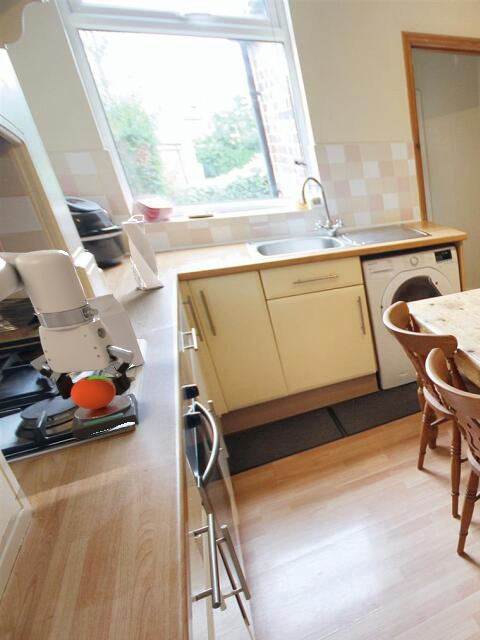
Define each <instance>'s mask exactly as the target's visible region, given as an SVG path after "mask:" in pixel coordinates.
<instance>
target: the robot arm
mask: <svg viewBox="0 0 480 640" xmlns="http://www.w3.org/2000/svg"><path fill="white" fill-rule="evenodd" d="M22 290H26V293H27V296H28V298H29V300H30V302H31V305H32V307H33V309H34V312H35V314H36V317H37V319H38V321H39V324H40V325H39V326H38V331H39V332H38V333H39V339H40V345H41V348H42V350H43V354H42V355H40V356H38V357H37V358H35V359H33V360H31V361H30V364H29V365H30V366H31V367H33V368H34V369H35V370H36V371H38V373H39V374H40V375H41V376H43V377H45V378H48V379H49V381H50V382H51V383H55V386H56V388H57V390H58V393H59V394H60V396H61V398H62V400H64V401H65V400H68V399H71V389H72V387H73V385H74V384H75V383H74V381H73V378H72V377H71V376H70V375H69V374H71V373H84V372H97V371H102V370H105V371H104V372H106V371H107V372H106V373H108V374H111V375H112V376H113V377H112V378H111V379H112V381H111V382H112V383H113V384H114V386H115V389H116V393H117V395H124V394H126V392H127V391H128V390H130V386H131V383H130V381H129V378H128V375H127V373H126V372H128V370H129V369H128V368H129V367H130V366H131V365H132V361H133V358H134V353H132V352H129V351H126V350H123V349H119V348H116V346H115V343H114V341H113V339H112V337H111V335H110V333H109V332H108V330H107V328H106V327H105V325H104V324H103V323H102V321H101V320H100V319H99V318H94V315H98V313H99V312H98V309H93V308H91V307H90V304H89V303H88V301H87V299H88V298H87V296H86V293H85V290H84V287H83V285H82V282H81V279H80V277H79V274H78V271H77V269H76V267H75V263H74V261H73V259H72V257H71V256H70V254H69V253H68V252H66V251H65V250H61V249H43V250H41V249H40V250H34V251H28V252H7V251H6V252H5V251H0V302H2V301H4V300H5V299H6V298H8V297H9V296H11V295H13V294H15V293H17V292H19V291H22ZM120 358H122V359H123V363H122V364H121V363H119V362H118V360H119V359H120ZM46 362H47V363H46ZM112 366H113V367H112ZM114 367H115V368H116V369H115V368H114Z"/></svg>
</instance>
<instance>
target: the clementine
mask: <svg viewBox="0 0 480 640" xmlns="http://www.w3.org/2000/svg"><path fill="white" fill-rule="evenodd" d="M73 384H74V385H73V387H72V389H71V397H70V399H71V400H72V402H73V403H74V404H75V405H77V407H82V408H85V409H99V408H102V407H104V406H106V405H108V404H109V403H110V402H111V401H112V400H113V399H114V397H115V396H116V393H117V391H116V388H115V386H114V383H113V381H112V378H110V377H107V376H104V375H97V374H96V375H88V376H84V377H81V378H79V379H78V380H77V381H76V382H75V383H73Z"/></svg>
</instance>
